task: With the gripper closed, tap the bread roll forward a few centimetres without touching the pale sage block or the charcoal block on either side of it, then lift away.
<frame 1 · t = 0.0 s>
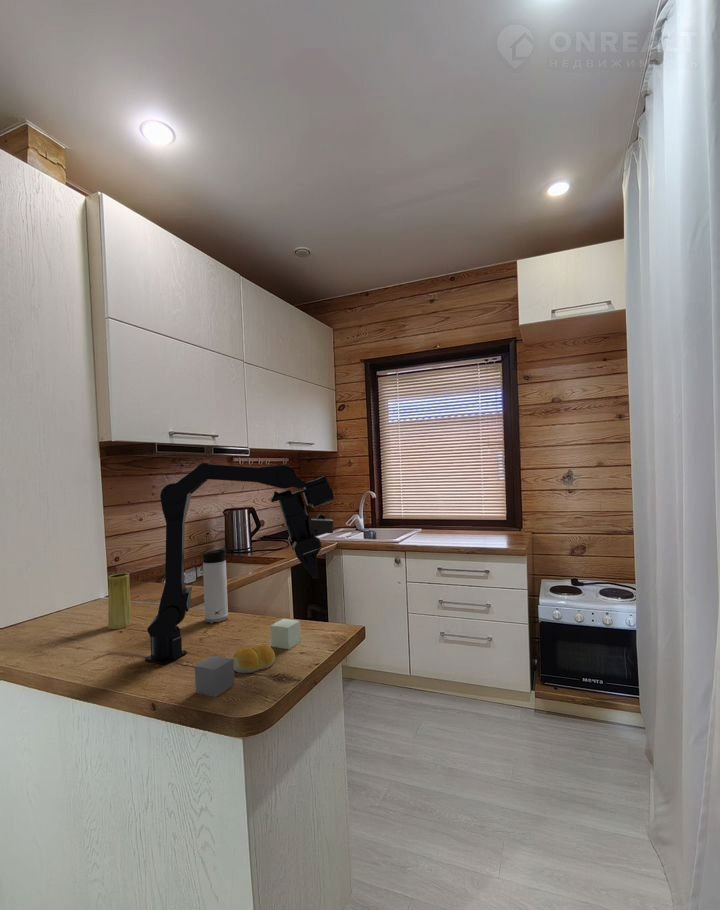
hand: (313, 573, 109), 15 cm above the countertop, tool pointing down, fingers open, 9 cm apart
sage block: (286, 644, 105), on the countertop
charcoal block: (215, 688, 84), on the countertop
bread roll: (253, 666, 94), on the countertop
vase: (120, 626, 124), on the countertop
travel mug: (217, 620, 125), on the countertop
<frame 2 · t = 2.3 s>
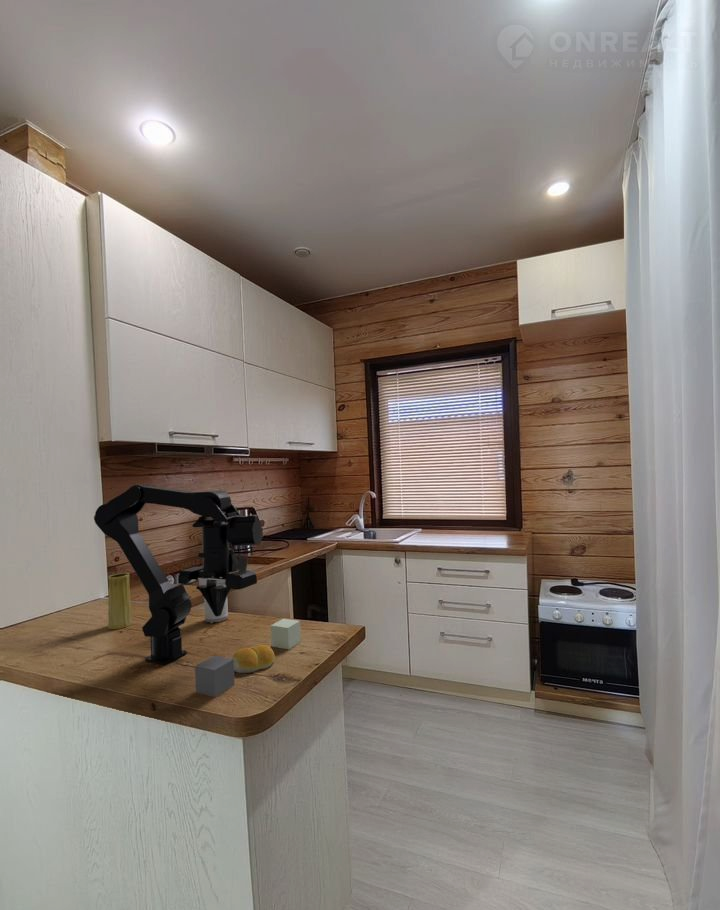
hand: (218, 615, 99), 9 cm above the countertop, tool pointing down, fingers closed
nothing on the countertop moved.
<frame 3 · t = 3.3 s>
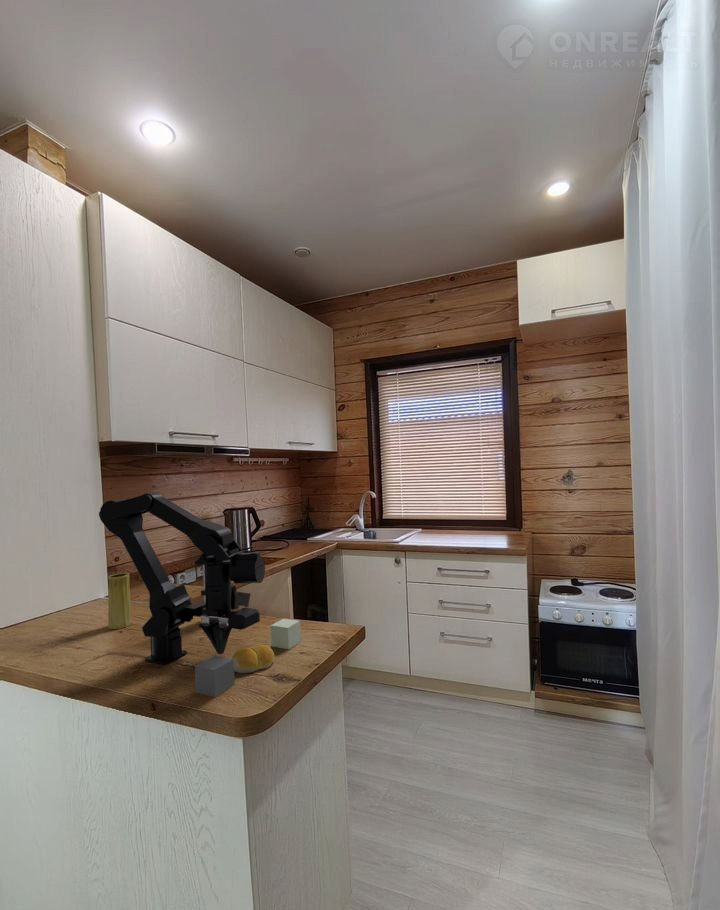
hand: (220, 653, 98), 1 cm above the countertop, tool pointing down, fingers closed
nothing on the countertop moved.
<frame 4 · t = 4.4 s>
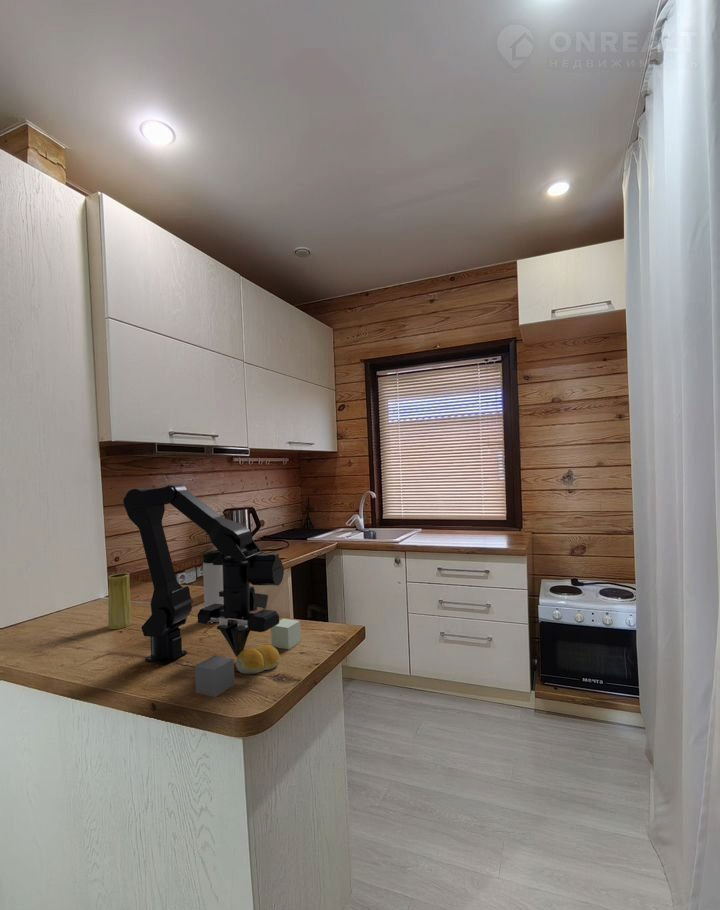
hand: (239, 656, 96), 1 cm above the countertop, tool pointing down, fingers closed
bread roll: (257, 667, 94), on the countertop, touching gripper
everything else where it was.
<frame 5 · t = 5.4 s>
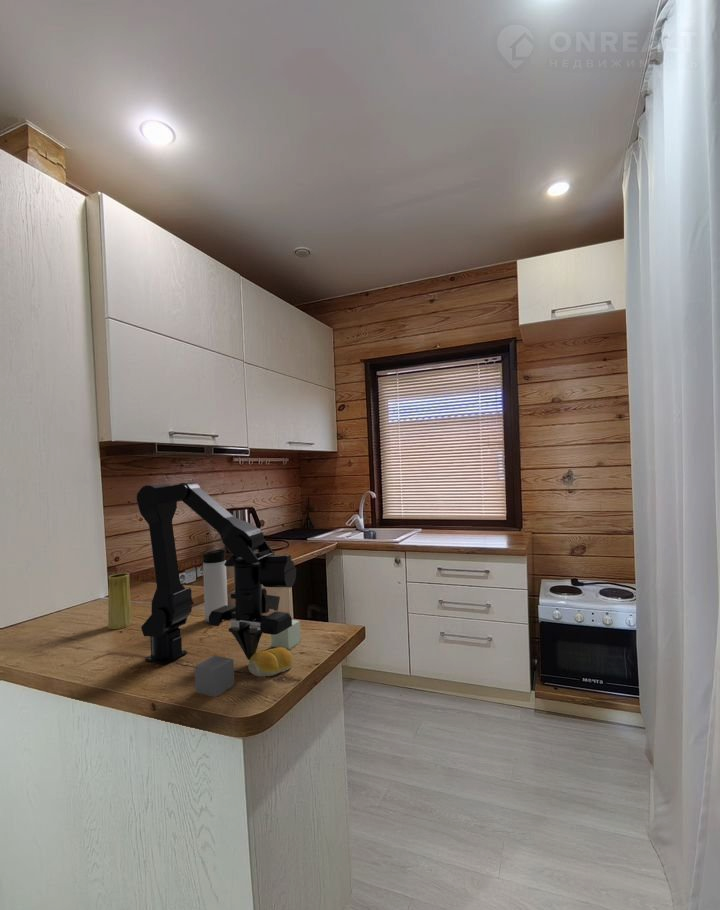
hand: (251, 659, 94), 1 cm above the countertop, tool pointing down, fingers closed
bread roll: (270, 670, 92), on the countertop
everything else where it was.
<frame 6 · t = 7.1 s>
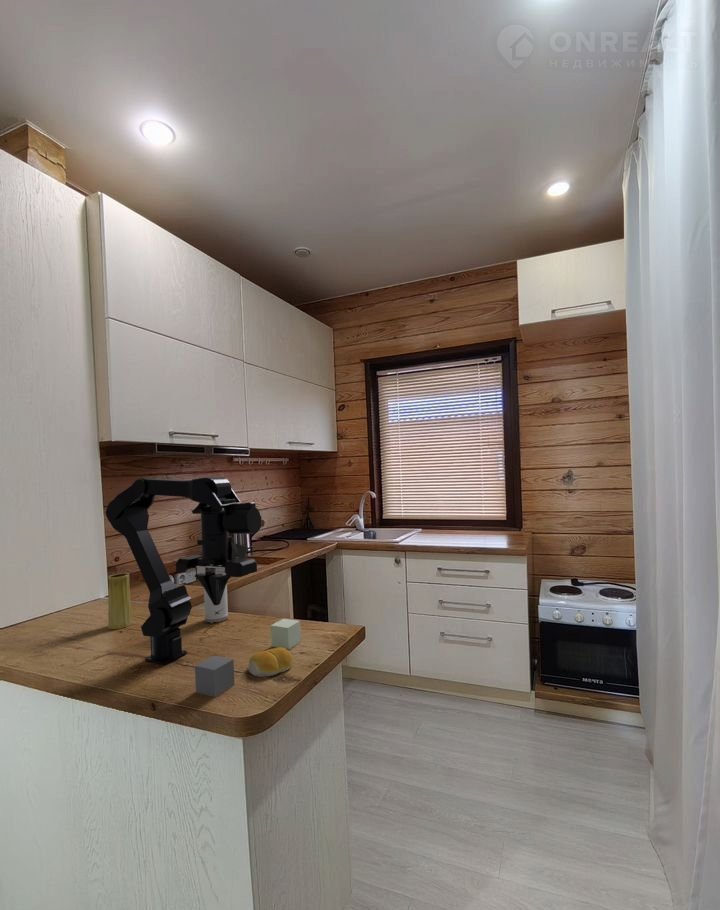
hand: (216, 604, 96), 13 cm above the countertop, tool pointing down, fingers closed
nothing on the countertop moved.
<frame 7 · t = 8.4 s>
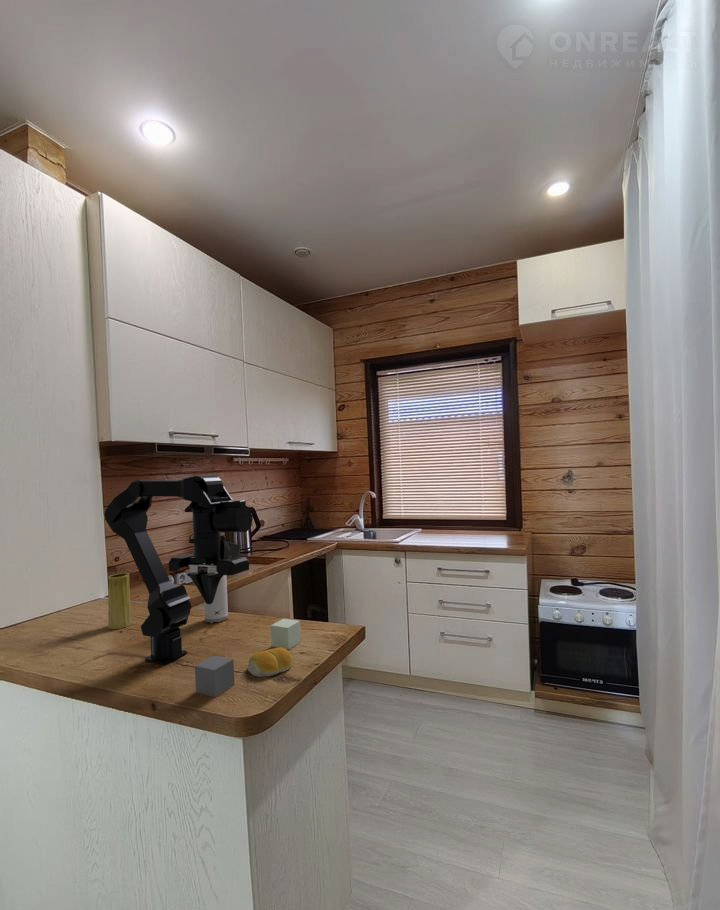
hand: (209, 603, 96), 13 cm above the countertop, tool pointing down, fingers closed
nothing on the countertop moved.
at the end: bread roll moved 4.6 cm from its start; sage block moved 0.1 cm from its start; charcoal block moved 0.1 cm from its start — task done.
